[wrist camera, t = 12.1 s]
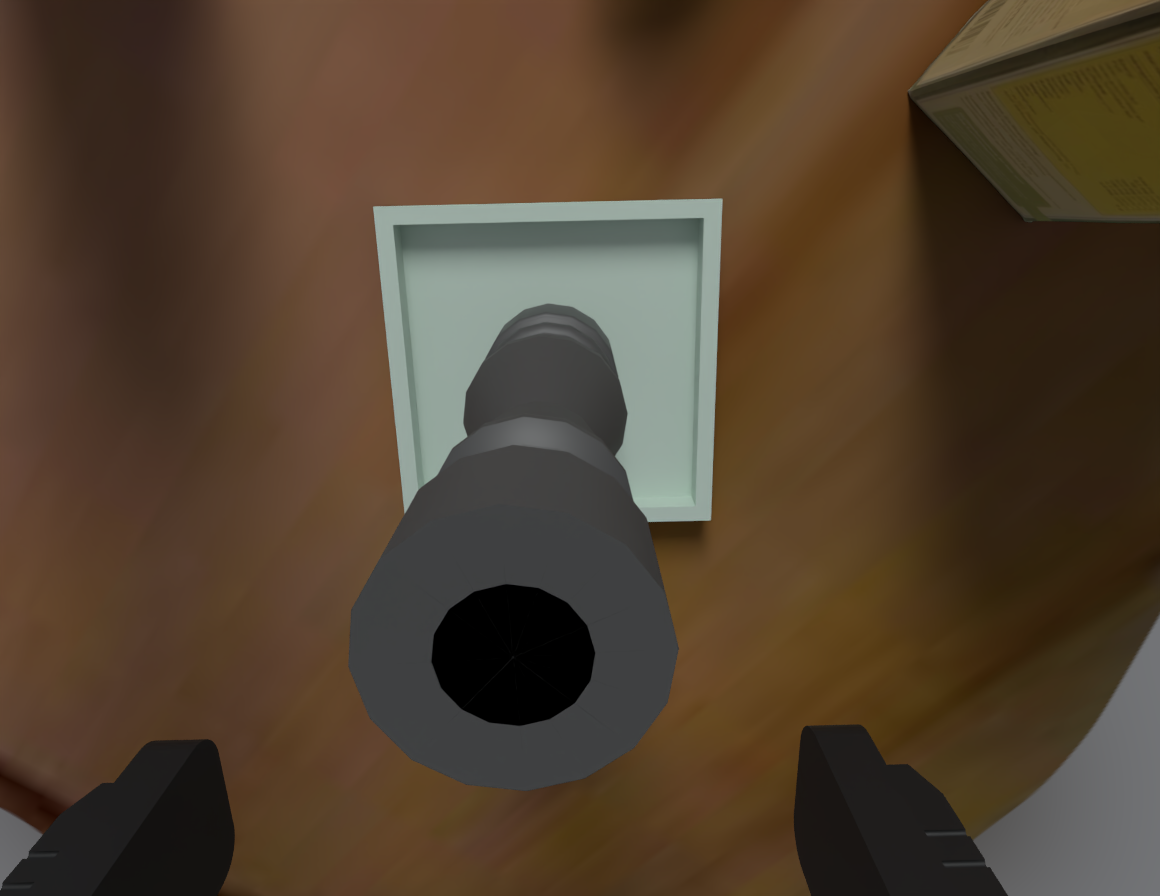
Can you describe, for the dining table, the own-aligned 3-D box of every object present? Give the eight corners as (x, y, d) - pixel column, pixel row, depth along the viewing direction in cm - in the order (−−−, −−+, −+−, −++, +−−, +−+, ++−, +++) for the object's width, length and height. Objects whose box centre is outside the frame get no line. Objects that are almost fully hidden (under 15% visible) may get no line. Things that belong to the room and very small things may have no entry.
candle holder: (558, 450, 38) (532, 856, 14) (464, 371, 36) (259, 671, 13) (640, 361, 36) (768, 643, 13) (545, 276, 35) (488, 410, 11)
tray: (414, 512, 39) (406, 527, 37) (384, 206, 35) (373, 206, 33) (704, 505, 39) (710, 520, 37) (714, 199, 35) (722, 198, 33)
